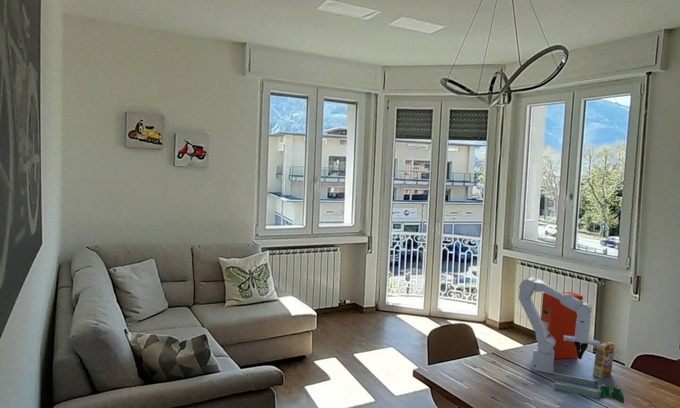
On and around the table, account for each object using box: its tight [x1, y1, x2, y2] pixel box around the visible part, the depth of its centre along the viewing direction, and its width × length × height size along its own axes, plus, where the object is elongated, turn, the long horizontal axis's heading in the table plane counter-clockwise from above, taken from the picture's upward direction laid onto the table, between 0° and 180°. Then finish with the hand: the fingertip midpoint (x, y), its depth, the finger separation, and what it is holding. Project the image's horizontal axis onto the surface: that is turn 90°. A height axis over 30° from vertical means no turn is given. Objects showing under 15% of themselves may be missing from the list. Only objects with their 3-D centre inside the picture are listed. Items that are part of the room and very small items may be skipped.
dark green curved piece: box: [598, 383, 625, 403], centre depth 205 cm, size 9×4×6 cm
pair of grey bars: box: [553, 371, 602, 399], centre depth 212 cm, size 18×12×3 cm
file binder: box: [540, 291, 584, 360], centre depth 247 cm, size 8×17×32 cm, turn 103°
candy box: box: [592, 340, 616, 379], centre depth 226 cm, size 9×4×15 cm, turn 123°
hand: (579, 358), depth 221 cm, fingers closed
